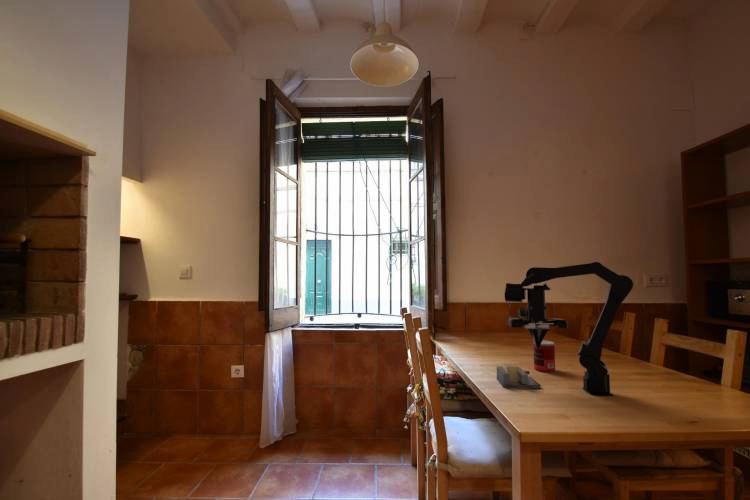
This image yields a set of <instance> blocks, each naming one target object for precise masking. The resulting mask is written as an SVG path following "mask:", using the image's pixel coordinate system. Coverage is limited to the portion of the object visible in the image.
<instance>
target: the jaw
mask: <svg viewBox="0 0 750 500" xmlns="http://www.w3.org/2000/svg"><path fill="white" fill-rule="evenodd" d="M518 367H519V366H518ZM530 374H531V373H530V370H523V369H522V368H521V367H519V381H520V382H521V383H522V384H528V377H529V375H530Z"/></svg>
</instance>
